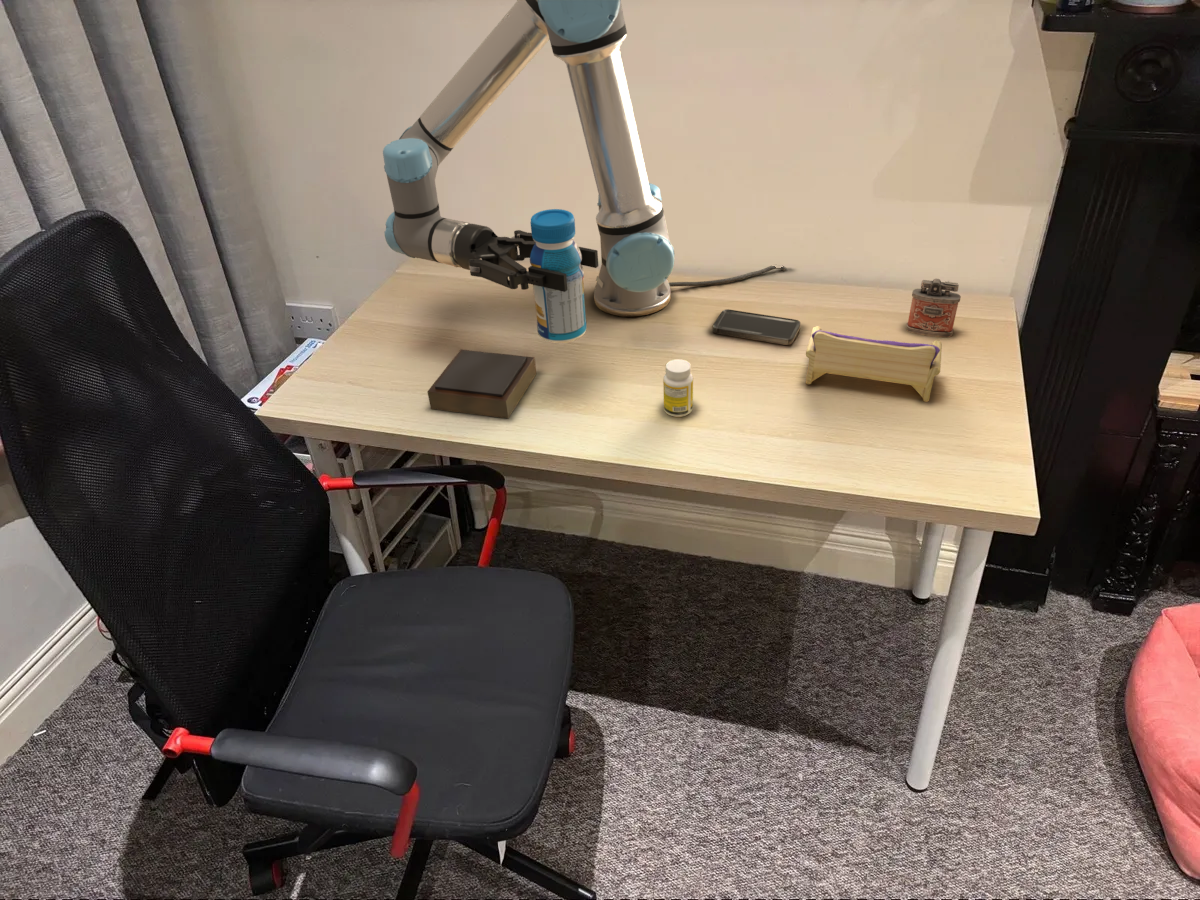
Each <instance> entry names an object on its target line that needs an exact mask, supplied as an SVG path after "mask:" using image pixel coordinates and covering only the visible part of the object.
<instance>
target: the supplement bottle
mask: <svg viewBox="0 0 1200 900" xmlns="http://www.w3.org/2000/svg"><path fill="white" fill-rule="evenodd" d="M664 373H665V374H664V375H663V381H662V382H663V410H664V412H665V414H668V415H669V416H671V417H675V418H682V417H686V416H688V415H689V414H691V412H692V411H693V408H694V377H693V374H692V366H691V363H690V362H689V361H687V360H686V359H681V358H675V359H671V360H669V361H668V362H667V363H666V364H665V371H664Z"/></svg>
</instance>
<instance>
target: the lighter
mask: <svg viewBox="0 0 1200 900" xmlns="http://www.w3.org/2000/svg"><path fill="white" fill-rule="evenodd" d="M959 287H960V284H959V283H958V282H952V281H941V279H939V278H933V280H930V279H922V280H921V284H920V288H914V289H913V290H912V293H911V296H912V299H911V304H910V310H909V314H908V320H907V323H906V325H905V330H906V331H907V332H908V333H912V334H916V335H920V336H921V335H922V336H928V337H937V338H950V337H952V336H953V333H954V325H955V320H956V315H957V311H958V306H959V303H960V301H961V297H962V296H961V295H960V294H959V293H957V292H958V291H959Z"/></svg>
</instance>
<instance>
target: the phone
mask: <svg viewBox="0 0 1200 900" xmlns="http://www.w3.org/2000/svg"><path fill="white" fill-rule="evenodd" d="M800 329H801V321H800V320H798V319H794V318H787V317H781V316H775V315H768V314H761V313H755V312H748V311H741V310H735V309H729V308H728V309H727V308H726V309H723V310H722V311H721V312H720V314H719V315H718V317H717V318H716V319H715V320H714V323H713V325H712V332H713V334H718V335H723V336H729V337H733V338H734V337H735V338H741V339H747V340H754V341H759V342H764V343H770V344H777V345H784V346H790V345H792V344H793V343H794V341H795V339H796V337H797V335H798V333H799V331H800Z"/></svg>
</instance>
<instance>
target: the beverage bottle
mask: <svg viewBox="0 0 1200 900" xmlns="http://www.w3.org/2000/svg"><path fill="white" fill-rule="evenodd" d="M530 233H532V238H533V240H534V241H535V242H536V243H535V244H534V246H533V249H532V251H531V255H530V258H529V263H530V266H534V267H538V268H543V269H547V270H552V271H556V272H561V273H565V274H566V276H567V288H568V290H567V291H566V292H563V291H559V290H554V289H550V288H546V287H541V286H536V285H532V290H533V299H534V307H535V315H536V328H537V329H536V330H537V334H538V336H539V337H540V338H541V339H542V340H544V341H545V342H549V343H552V344H566V343H571V342H575V341H577V340H579V339H580V338H582V337H583V336H584V335H585V334H586V332H587V330H588V329H587V328H588V327H587V316H586V302H585V300H586V299H585V286H584V285H585V284H584V278H585V271H584V267H583V265H581V264H580V263H581V260H582V254H581V251H580V249H579V247H580V246H579V245H578V244H577V242H576V241H575V240H574V239H575V237H576V236H575V235H576V220H575V215H574V214H573V212H571V211H569V210H566V209H562V208H551V209H550V208H549V209H545V210H541V211H538V212H536V213H534V214H533V215H532V216H531V218H530Z"/></svg>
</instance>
